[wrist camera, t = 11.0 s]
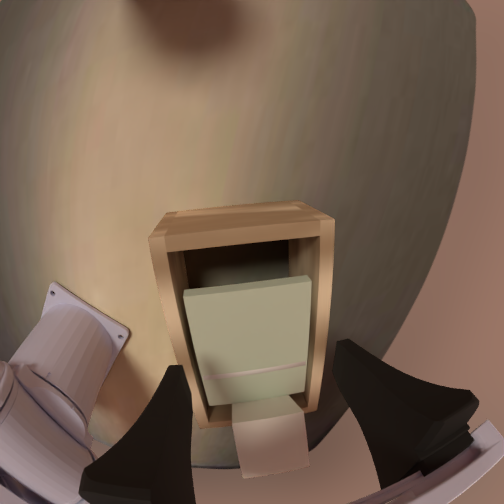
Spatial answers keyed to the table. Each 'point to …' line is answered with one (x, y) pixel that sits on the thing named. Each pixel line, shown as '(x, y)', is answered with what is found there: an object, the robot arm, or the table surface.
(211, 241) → the box
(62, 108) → the table surface
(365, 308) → the table surface
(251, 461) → the pinkish beige block
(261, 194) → the table surface
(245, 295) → the pale grey flat block
